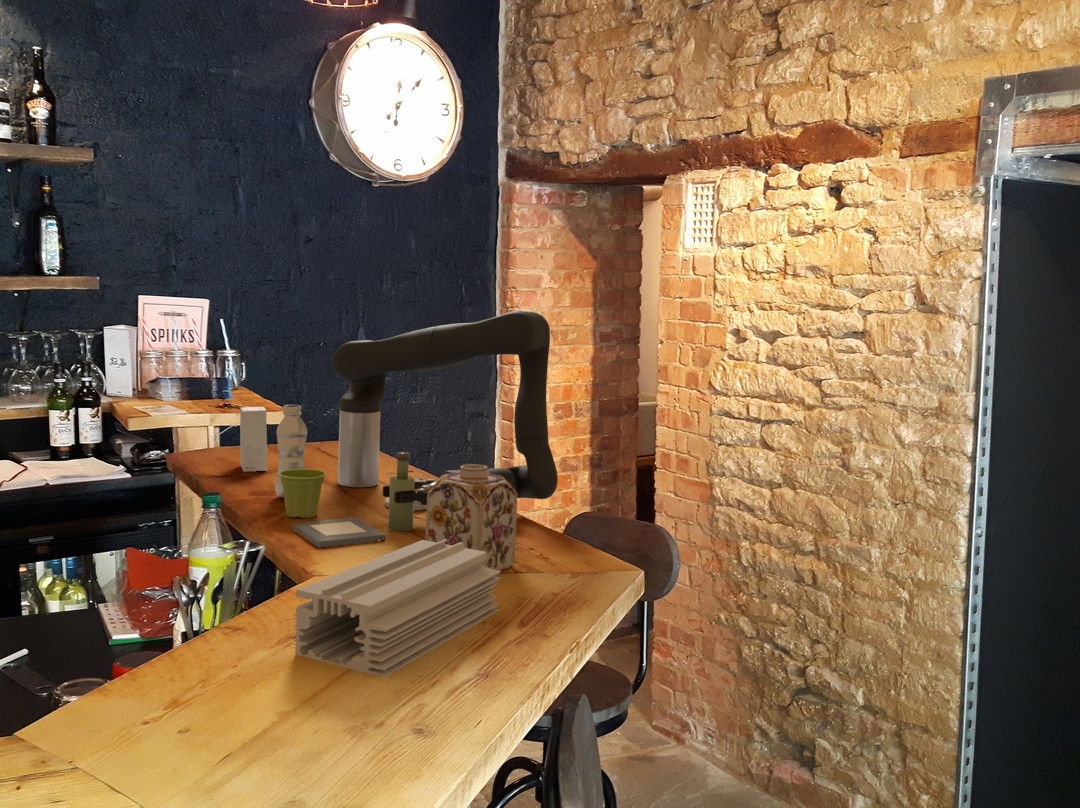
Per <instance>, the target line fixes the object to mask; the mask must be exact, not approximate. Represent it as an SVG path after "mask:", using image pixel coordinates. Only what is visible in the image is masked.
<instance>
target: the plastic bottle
mask: <svg viewBox="0 0 1080 808" xmlns="http://www.w3.org/2000/svg"><path fill="white" fill-rule="evenodd" d="M282 407H283V412H282V414H283V418H282V420H281V421H280V422H279V423H278V425H277V428H276V440H277V447H278V449H277V450H278V451H277V452H278V453H277V454H278V463H277V464H278V465H277V474H276V475H277V476H276V478H275V483H274V487H275V488H274V489H275V493H276V495H277V497H279V498H283V499H284V492H283V485H282V483H281V478H280V476H279V475H278V473H279V472H281V471H284V470H291V469H305V450H306V449H305V448H306V442H307V436H308V429H307V425H306V424H305V422H304V421H303V419H302V418H301V415H302V408H301V405H299V404H284V405H283V406H282Z"/></svg>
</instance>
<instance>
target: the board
mask: <svg viewBox="0 0 1080 808" xmlns="http://www.w3.org/2000/svg"><path fill="white" fill-rule="evenodd" d="M291 523H292V522H291ZM292 529H293V530H292ZM291 530H292V531H294V530H295V531H296V532H297V533H296V532H295V531H294V532H295V533H296V534H298V533H299V534H300V535H299V534H298V535H299V536H301V535H302V536H303V537H302V536H301V537H302V538H304V537H305V538H306V539H307V540H306V539H305V538H304V539H305V540H306V541H308V540H309V541H310V543H311V544H312V543H313V544H312V545H314V546H315V547H316V546H317V548H318V549H323V548H322V547H325V548H331V546H334V547H340V546H339V545H343V546H349V545H348V544H352V545H356V544H355V543H361V544H364V543H363V542H370V541H378V540H385V541H386V534H385V533H383V532H382V531H380V530H378V529H377V528H375V527H373V526H372V525H369V524H368V523H366V522H364V521H363V520H361V519H359V518H358V517H356V516H354V517H345V518H334V519H323V520H314V521H303V522H294V523H292V524H291ZM309 541H308V542H309ZM370 543H371V542H370Z"/></svg>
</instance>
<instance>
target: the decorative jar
mask: <svg viewBox="0 0 1080 808" xmlns="http://www.w3.org/2000/svg"><path fill="white" fill-rule="evenodd" d="M459 468H460V469H459V470H460V472H456V473H450V474H445V475H442V476H441V475H440V476H441V477H440V476H439V478H438V480H437V481H436V483H435V484H434V486H433V487H432V488H431V489H430V490H429V491H428V501H427V509H426V517H425V532H424V533H425V537H424V538H425V539H424V540H426V541H431V542H436V543H437V542H439V541H442V540H444V539H447V541H445V544H447V545H455V544H457V543H459V542H463V545H464V547H465V548H468V549H473V550H479V551H484V552H487V559H486V560H484V561H482V566H484V567H486V568H491V569H493V570H494V569H495V570H498V571H501V570H503V569H505V570H507V569H506V568H508V567H510V568H512V567H513V566H514V564H515V558H516V556H515V555H516V545H517V543H516V541H517V517H518V515H517V514H518V512H517V511H518V498H517V492H516V491H515V489H514V488H513V487H512V486H511V484H510V483H509V482H508V481H506V480H505V478H504V477H502V476H499V475H494V474H490V473H488V469H489V468H488V466H487V465H484V464H483V465H482V464H476V463H473V464H472V463H471V464H470V463H469V464H463V465H460V466H459ZM511 566H512V567H511ZM508 569H509V568H508ZM503 571H504V570H503ZM501 572H502V571H501Z"/></svg>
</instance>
